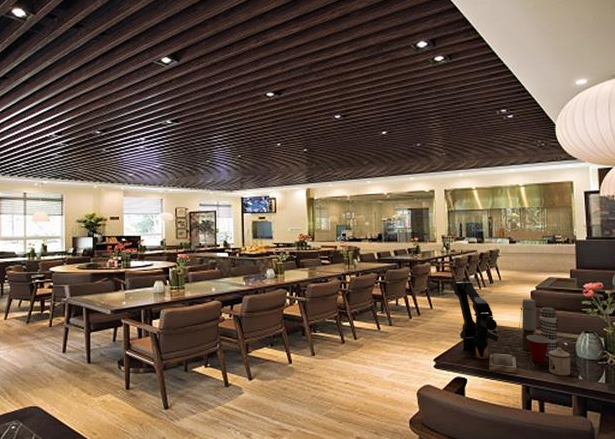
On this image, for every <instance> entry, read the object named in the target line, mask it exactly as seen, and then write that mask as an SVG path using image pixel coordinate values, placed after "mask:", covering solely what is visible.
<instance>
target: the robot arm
mask: <svg viewBox="0 0 615 439" xmlns="http://www.w3.org/2000/svg"><path fill="white" fill-rule="evenodd" d="M452 290H453V292H454V294H455V295H456V296H457V297H458V300H459V306H460V309H461V315H462V318H463V324H462V328H461V329H462V330H461V332H460V334H459V337H460V339H462V340H463V341H462V342H463V345H462V346H463V348H462V350H463V351H467V352H469V351H470V352H476V347H477V349H478V352H479V354H480V356H481V357H483V354H484V349H485V347H487V346H488V347H489V339H490V340H492V341H493V342H496V343H497V342H498V340H499V338H500V334H499V333H498V330H496V329H497V327H498V323H497V321H496V320H495V319H494V315H493V311H492V308H491V307H490V304H489V302H487V301H486V299H483V298H482V297H481V296H480V295H479V293H478V292H477V289H475V287H474V284H473V282H470V281H455V282H454V283H453V284H452ZM469 299H470V300H471V301H470V302H472V309H473V311H474V316H475V321H474V319H473V316H472V310H471V307H470V302H469Z"/></svg>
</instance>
